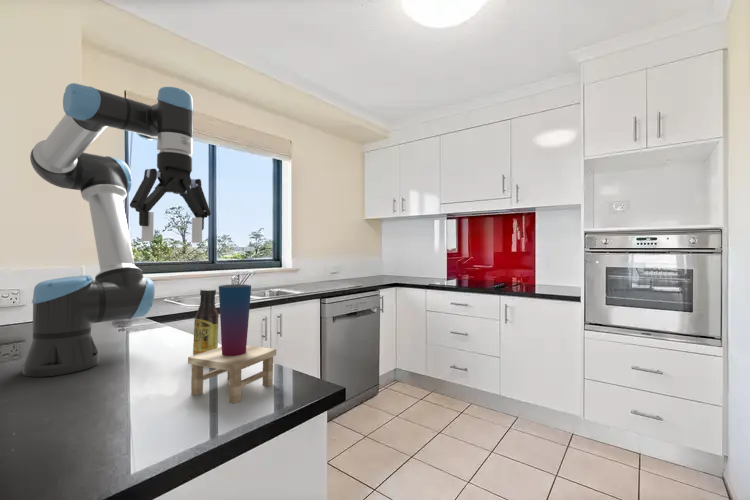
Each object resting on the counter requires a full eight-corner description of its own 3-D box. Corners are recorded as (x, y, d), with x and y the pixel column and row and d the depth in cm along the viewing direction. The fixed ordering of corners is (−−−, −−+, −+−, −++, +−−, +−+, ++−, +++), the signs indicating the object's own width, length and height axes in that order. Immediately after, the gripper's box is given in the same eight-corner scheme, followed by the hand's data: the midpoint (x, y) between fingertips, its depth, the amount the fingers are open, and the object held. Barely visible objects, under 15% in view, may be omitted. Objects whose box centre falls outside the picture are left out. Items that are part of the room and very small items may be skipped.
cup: (239, 358, 79) (240, 287, 79) (210, 356, 80) (212, 286, 80) (255, 349, 85) (256, 284, 85) (229, 348, 87) (230, 283, 87)
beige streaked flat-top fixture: (187, 394, 79) (188, 357, 79) (232, 376, 91) (232, 343, 91) (235, 404, 74) (236, 364, 74) (275, 383, 86) (276, 349, 86)
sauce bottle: (187, 361, 102) (188, 289, 102) (205, 355, 108) (206, 287, 108) (205, 364, 100) (206, 290, 100) (223, 358, 106) (223, 288, 106)
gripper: (135, 138, 77) (134, 240, 77) (225, 164, 100) (224, 243, 100) (111, 141, 80) (110, 240, 80) (204, 166, 103) (203, 243, 103)
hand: (173, 242), depth 90 cm, fingers open, 13 cm apart
